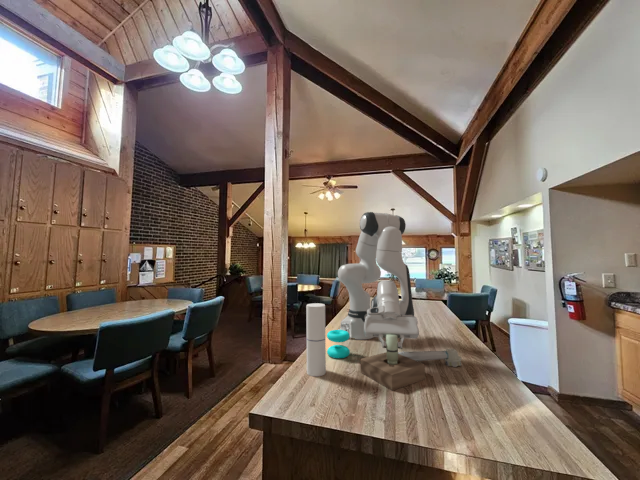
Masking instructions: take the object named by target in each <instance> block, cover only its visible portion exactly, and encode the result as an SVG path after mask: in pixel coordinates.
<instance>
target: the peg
mask: <svg viewBox="0 0 640 480" xmlns="http://www.w3.org/2000/svg"><path fill="white" fill-rule="evenodd" d="M398 340H399V339H398V338H397V335H395V334H387V335H386V337H385V342H386V344H387V348H385V350H386V352H387V360H388V364H389V365H396V364H397V361H398V352H399V349H398V342H399V341H398Z"/></svg>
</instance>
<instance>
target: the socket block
mask: <svg viewBox="0 0 640 480" xmlns="http://www.w3.org/2000/svg"><path fill="white" fill-rule="evenodd" d="M425 367H426V365H425V364H424V363H422V362H421V361H415V360H412V359H410V358H408V357H405V356H403V355H400V354H398V361H397V364H396V365H389V364H388V360H387V351H385V352H383V353H379V354H375V355H374V354H373V355H371V356H366V357H362V358H360V374H363V375H365V376H366V377H368V378H369V379H371V380H373V381H375V382H376V383H378V384H379V385H381V386H383V387H385V388H387V389H388V390H389V391H395V390H398V389H401V388H403V387H406V386H410V385H412V384H415V383H417V382H421V381H424V380H426V369H425Z"/></svg>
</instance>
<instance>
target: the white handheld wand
mask: <svg viewBox="0 0 640 480" xmlns="http://www.w3.org/2000/svg"><path fill="white" fill-rule="evenodd" d="M398 354H400V355H403V356H405V357H408V358H410V359H412V360H415V361H417V362H425V361H426V362H427V361H436V360H437V361H439V360H443V361H445V365H446V366H447V367H453V368H457V367H461V366H462V357H461V355H459V353H458V351H457V349H455V348H447V349H446V350H423V351H422V350H420V351H419V350H418V351H412V350H411V351H404V350H402V351H398Z"/></svg>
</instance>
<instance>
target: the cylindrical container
mask: <svg viewBox="0 0 640 480" xmlns="http://www.w3.org/2000/svg"><path fill="white" fill-rule="evenodd" d="M305 308H306V311H305V312H306V313H305V314H306V316H305V317H306V319H305V321H306V329H305V330H306V332H305V333H306V374H307V375H308V376H310V377H321V376H324V375H326V371H327V369H326V368H327V367H326V366H327V365H326V363H327V362H326V359H327V356H326V353H327V351H326V350H327V349H326V305H325V303H321V302H320V303H318V302H317V303H316V302H314V303H307V304H306V306H305Z"/></svg>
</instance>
